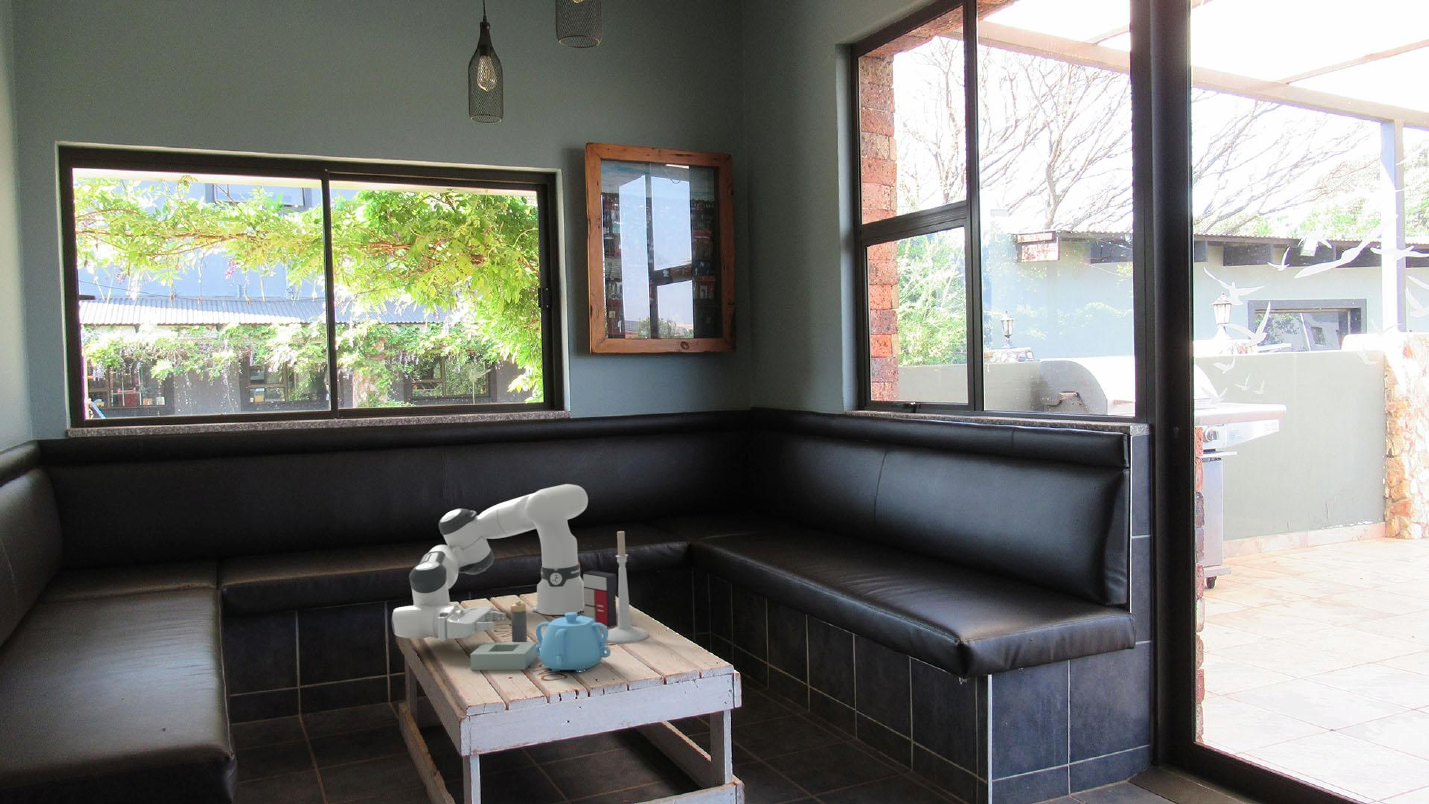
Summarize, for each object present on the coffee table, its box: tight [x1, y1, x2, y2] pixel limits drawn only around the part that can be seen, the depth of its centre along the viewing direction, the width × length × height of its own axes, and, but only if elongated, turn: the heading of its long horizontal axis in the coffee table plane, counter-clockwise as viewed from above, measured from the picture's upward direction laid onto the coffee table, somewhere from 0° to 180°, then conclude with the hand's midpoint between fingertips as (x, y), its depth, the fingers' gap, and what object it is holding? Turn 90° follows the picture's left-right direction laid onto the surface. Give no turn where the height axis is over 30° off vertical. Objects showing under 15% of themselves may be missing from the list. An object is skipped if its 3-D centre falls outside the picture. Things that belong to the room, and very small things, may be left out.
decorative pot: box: [535, 612, 611, 673], centre depth 251 cm, size 16×16×14 cm
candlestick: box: [602, 529, 649, 644], centre depth 277 cm, size 13×13×30 cm
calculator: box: [582, 570, 618, 628], centre depth 293 cm, size 11×4×15 cm, turn 47°
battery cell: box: [510, 600, 528, 642], centre depth 270 cm, size 4×4×13 cm
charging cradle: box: [469, 641, 538, 671], centre depth 256 cm, size 11×14×4 cm
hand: (499, 620), depth 270 cm, fingers open, 8 cm apart
